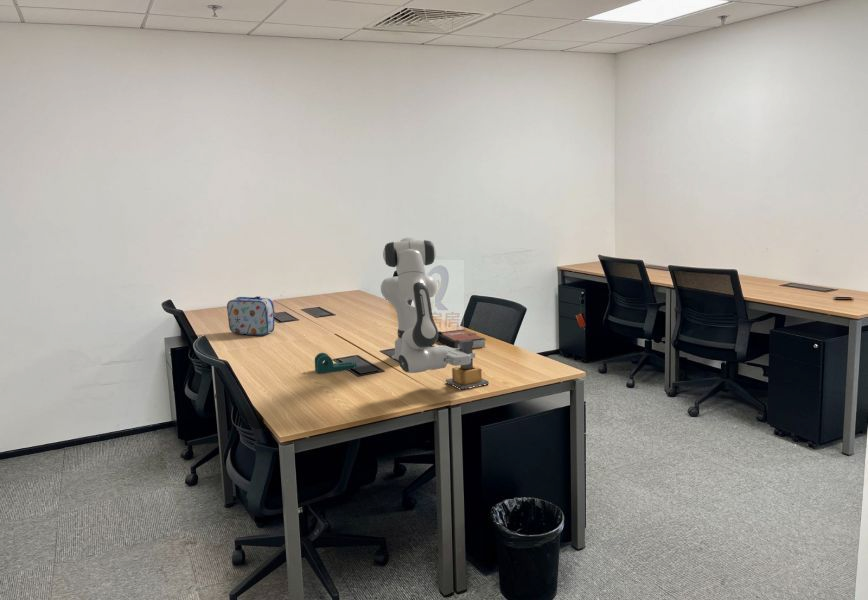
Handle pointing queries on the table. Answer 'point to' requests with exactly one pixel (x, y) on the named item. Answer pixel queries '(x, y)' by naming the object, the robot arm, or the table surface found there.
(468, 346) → the tall dark grey post
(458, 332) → the book
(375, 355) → the table surface
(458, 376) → the frame on grey plate
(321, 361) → the bracket
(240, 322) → the lunch box
